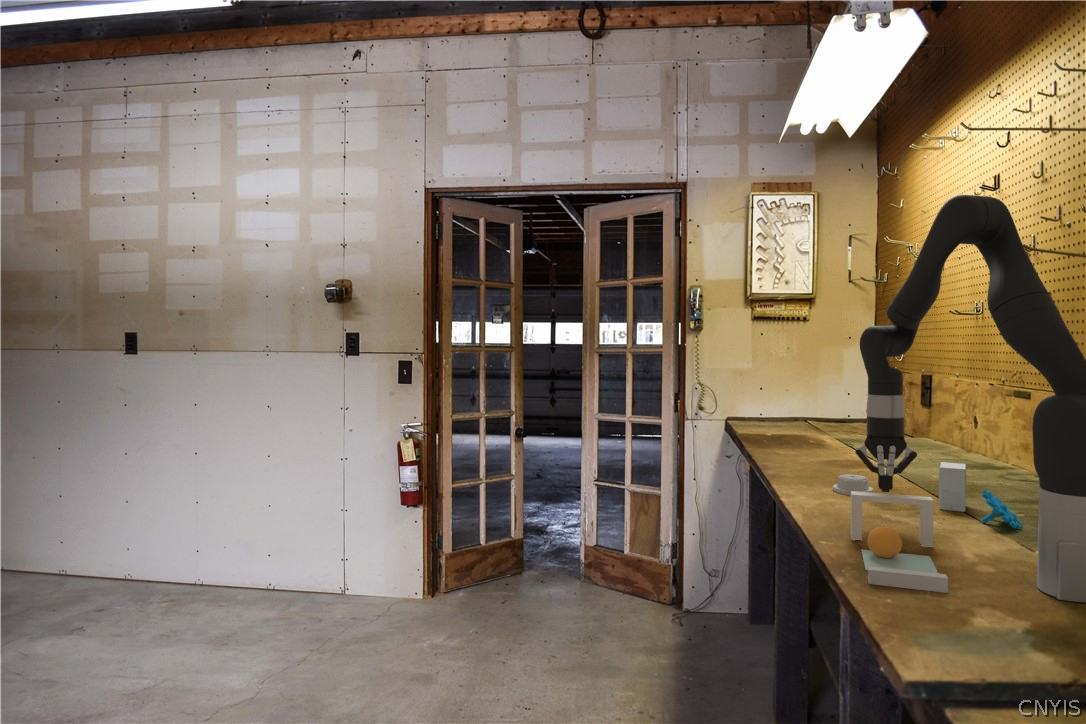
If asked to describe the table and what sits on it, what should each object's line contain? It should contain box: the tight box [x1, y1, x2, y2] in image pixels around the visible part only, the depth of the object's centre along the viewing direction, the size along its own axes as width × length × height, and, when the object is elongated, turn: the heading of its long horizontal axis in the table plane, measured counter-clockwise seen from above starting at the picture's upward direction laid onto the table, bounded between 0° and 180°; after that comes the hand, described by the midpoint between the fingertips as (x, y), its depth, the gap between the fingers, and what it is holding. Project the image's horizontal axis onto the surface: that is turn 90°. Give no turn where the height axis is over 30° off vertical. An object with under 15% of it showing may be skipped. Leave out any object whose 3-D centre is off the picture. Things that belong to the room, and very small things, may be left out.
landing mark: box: [860, 549, 939, 574], centre depth 127 cm, size 12×12×1 cm
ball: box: [867, 525, 903, 558], centre depth 131 cm, size 6×6×6 cm
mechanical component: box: [832, 473, 874, 496], centre depth 184 cm, size 10×4×10 cm
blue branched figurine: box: [980, 489, 1022, 530], centre depth 152 cm, size 11×6×10 cm
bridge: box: [850, 491, 935, 549], centre depth 140 cm, size 3×15×10 cm, turn 68°
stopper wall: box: [867, 566, 949, 594], centre depth 116 cm, size 2×12×2 cm, turn 68°
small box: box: [938, 461, 967, 513], centre depth 166 cm, size 8×6×10 cm
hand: (885, 491), depth 151 cm, fingers closed
